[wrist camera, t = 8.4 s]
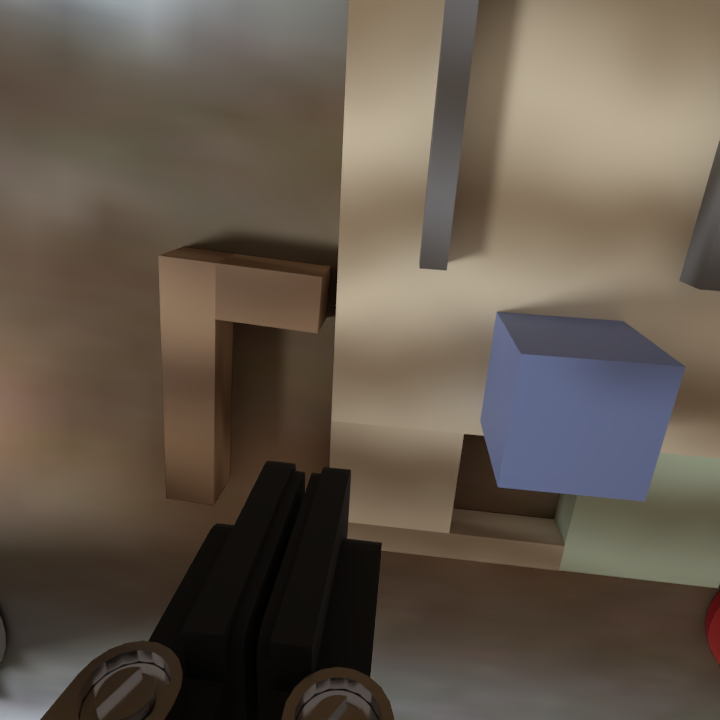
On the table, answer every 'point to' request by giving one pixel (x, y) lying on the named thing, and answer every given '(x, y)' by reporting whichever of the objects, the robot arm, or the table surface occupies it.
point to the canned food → (714, 627)
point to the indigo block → (576, 405)
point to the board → (526, 258)
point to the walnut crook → (219, 350)
